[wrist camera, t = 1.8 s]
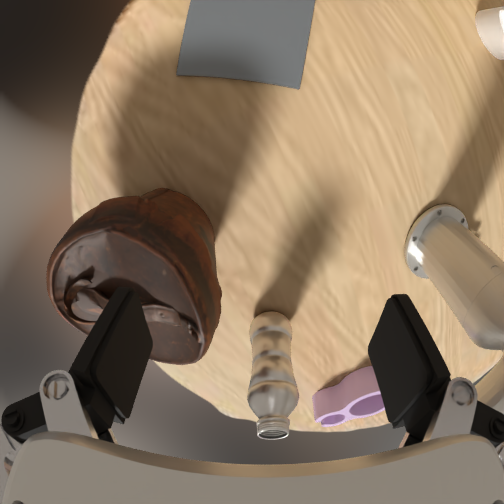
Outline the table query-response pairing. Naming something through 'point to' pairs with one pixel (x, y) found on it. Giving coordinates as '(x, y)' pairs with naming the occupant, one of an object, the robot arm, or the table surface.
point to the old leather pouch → (142, 270)
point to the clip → (349, 399)
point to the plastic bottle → (272, 375)
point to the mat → (247, 40)
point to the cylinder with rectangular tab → (492, 30)
